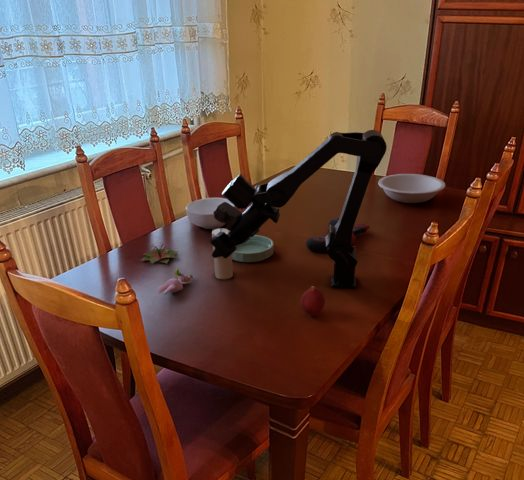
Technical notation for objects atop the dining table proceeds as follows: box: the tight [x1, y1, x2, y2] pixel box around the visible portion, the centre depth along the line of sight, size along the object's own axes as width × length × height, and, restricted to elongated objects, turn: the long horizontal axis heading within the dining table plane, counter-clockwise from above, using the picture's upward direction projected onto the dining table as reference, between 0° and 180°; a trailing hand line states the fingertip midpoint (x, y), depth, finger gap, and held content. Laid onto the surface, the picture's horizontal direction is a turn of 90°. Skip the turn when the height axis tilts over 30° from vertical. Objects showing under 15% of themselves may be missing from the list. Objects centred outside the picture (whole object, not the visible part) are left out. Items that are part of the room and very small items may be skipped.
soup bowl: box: [377, 173, 446, 204], centre depth 201 cm, size 24×24×7 cm
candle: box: [211, 227, 234, 280], centre depth 150 cm, size 5×5×14 cm
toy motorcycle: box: [305, 217, 370, 253], centre depth 171 cm, size 25×5×16 cm
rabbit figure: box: [157, 268, 194, 295], centre depth 145 cm, size 6×6×15 cm
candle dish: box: [232, 234, 275, 263], centre depth 165 cm, size 14×14×3 cm
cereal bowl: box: [185, 197, 237, 230], centre depth 185 cm, size 17×17×7 cm
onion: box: [300, 285, 326, 317], centre depth 132 cm, size 6×6×8 cm
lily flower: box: [141, 242, 179, 265], centre depth 164 cm, size 12×12×5 cm
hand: (218, 252), depth 150 cm, fingers open, 6 cm apart
